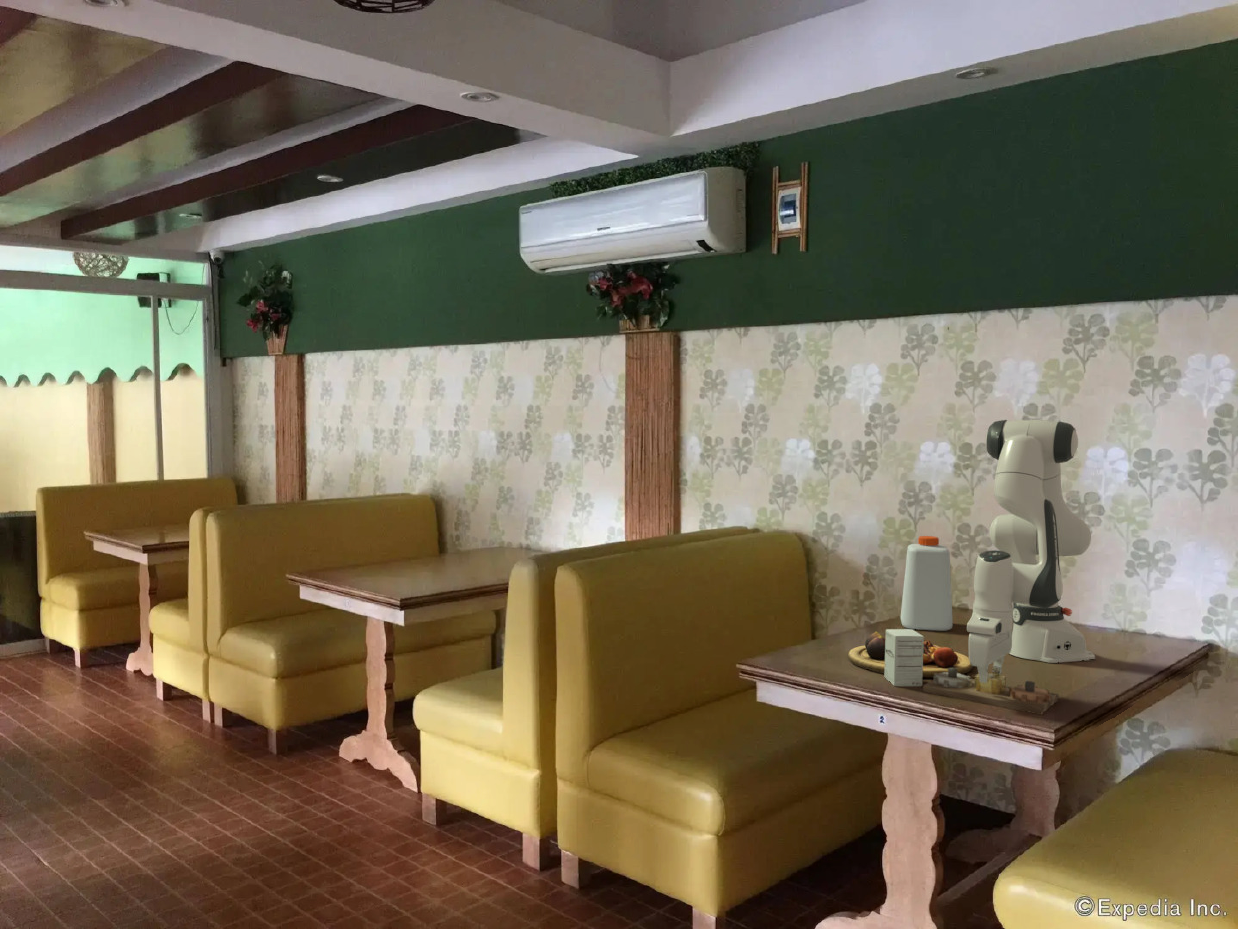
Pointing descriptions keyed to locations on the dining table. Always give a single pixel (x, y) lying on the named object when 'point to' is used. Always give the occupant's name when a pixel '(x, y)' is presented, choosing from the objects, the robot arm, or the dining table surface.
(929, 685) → the gear board
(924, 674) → the wooden plate with food
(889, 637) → the supplement box
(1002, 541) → the robot arm
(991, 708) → the dining table surface
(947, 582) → the plastic bottle
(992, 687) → the brass gear
